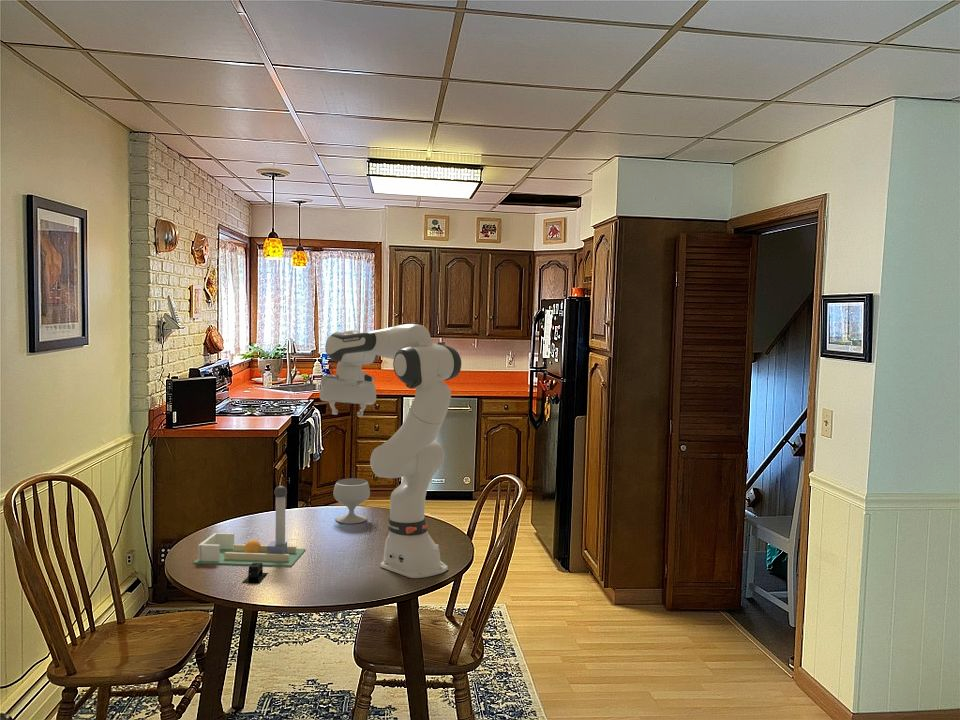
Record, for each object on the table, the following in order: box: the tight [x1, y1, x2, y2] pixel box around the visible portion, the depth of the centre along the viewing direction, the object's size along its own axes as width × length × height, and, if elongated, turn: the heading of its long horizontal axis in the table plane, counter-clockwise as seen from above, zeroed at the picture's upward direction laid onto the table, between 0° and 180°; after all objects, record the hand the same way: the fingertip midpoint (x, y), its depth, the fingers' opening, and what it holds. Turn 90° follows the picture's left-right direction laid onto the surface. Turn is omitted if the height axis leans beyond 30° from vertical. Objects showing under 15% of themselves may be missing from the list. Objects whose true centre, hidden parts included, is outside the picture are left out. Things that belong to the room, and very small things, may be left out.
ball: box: [245, 539, 262, 553], centre depth 229 cm, size 5×5×5 cm
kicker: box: [267, 485, 288, 554], centre depth 229 cm, size 6×5×22 cm
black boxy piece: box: [241, 563, 270, 585], centre depth 211 cm, size 12×7×5 cm, turn 178°
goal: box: [197, 532, 298, 561], centre depth 229 cm, size 28×13×5 cm, turn 88°
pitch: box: [192, 548, 306, 568], centre depth 229 cm, size 31×16×1 cm, turn 88°
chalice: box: [332, 477, 371, 525], centre depth 273 cm, size 14×14×15 cm
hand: (347, 415), depth 248 cm, fingers open, 8 cm apart
